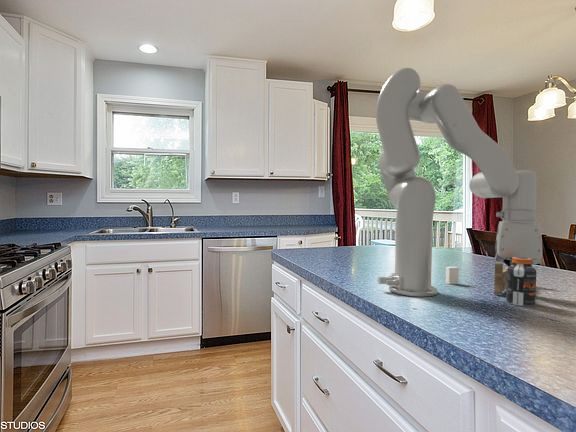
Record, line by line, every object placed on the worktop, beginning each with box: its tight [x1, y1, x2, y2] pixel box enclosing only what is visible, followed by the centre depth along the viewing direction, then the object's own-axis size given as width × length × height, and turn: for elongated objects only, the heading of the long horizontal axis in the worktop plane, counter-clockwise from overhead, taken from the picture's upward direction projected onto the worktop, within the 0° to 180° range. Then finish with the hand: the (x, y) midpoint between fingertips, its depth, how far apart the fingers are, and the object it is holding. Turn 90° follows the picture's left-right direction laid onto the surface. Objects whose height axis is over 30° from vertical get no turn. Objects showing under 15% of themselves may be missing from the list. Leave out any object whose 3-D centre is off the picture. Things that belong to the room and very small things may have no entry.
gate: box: [493, 262, 508, 295], centre depth 99 cm, size 18×2×8 cm, turn 136°
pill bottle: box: [505, 257, 537, 307], centre depth 86 cm, size 6×6×11 cm
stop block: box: [444, 266, 460, 285], centre depth 108 cm, size 3×2×5 cm, turn 97°
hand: (516, 283), depth 95 cm, fingers closed
